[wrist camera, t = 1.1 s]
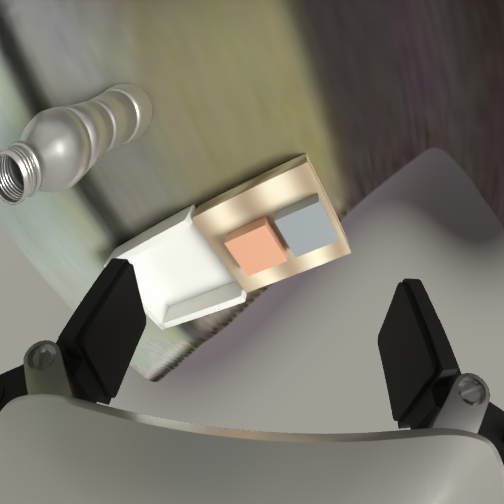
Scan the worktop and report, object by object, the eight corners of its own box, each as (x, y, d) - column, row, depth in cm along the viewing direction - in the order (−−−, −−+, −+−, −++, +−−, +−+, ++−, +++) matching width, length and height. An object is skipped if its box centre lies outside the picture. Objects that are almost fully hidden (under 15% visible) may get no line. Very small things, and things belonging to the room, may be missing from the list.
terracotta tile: (266, 215, 34) (265, 224, 33) (287, 250, 37) (287, 261, 35) (227, 233, 36) (224, 243, 34) (249, 266, 38) (247, 276, 37)
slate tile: (317, 193, 32) (319, 201, 31) (336, 230, 35) (338, 240, 33) (274, 212, 34) (274, 221, 32) (295, 247, 36) (295, 257, 35)
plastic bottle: (163, 84, 30) (40, 131, 13) (154, 141, 34) (47, 234, 17) (111, 78, 29) (-26, 125, 13) (105, 133, 33) (-15, 214, 17)
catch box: (193, 204, 38) (184, 220, 34) (248, 281, 44) (245, 301, 40) (114, 248, 43) (102, 265, 40) (168, 310, 49) (161, 329, 45)
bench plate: (305, 153, 33) (307, 162, 31) (347, 238, 38) (350, 252, 36) (198, 206, 38) (191, 218, 35) (248, 277, 43) (245, 292, 41)
